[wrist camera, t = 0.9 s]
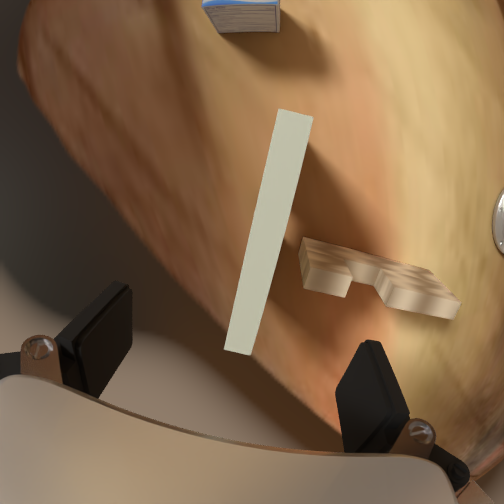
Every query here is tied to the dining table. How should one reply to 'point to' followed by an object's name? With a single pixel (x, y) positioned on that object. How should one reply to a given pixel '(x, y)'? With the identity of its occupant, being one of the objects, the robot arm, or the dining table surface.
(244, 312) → the sage plate
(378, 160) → the dining table surface
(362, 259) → the maple board
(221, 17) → the medicine box
